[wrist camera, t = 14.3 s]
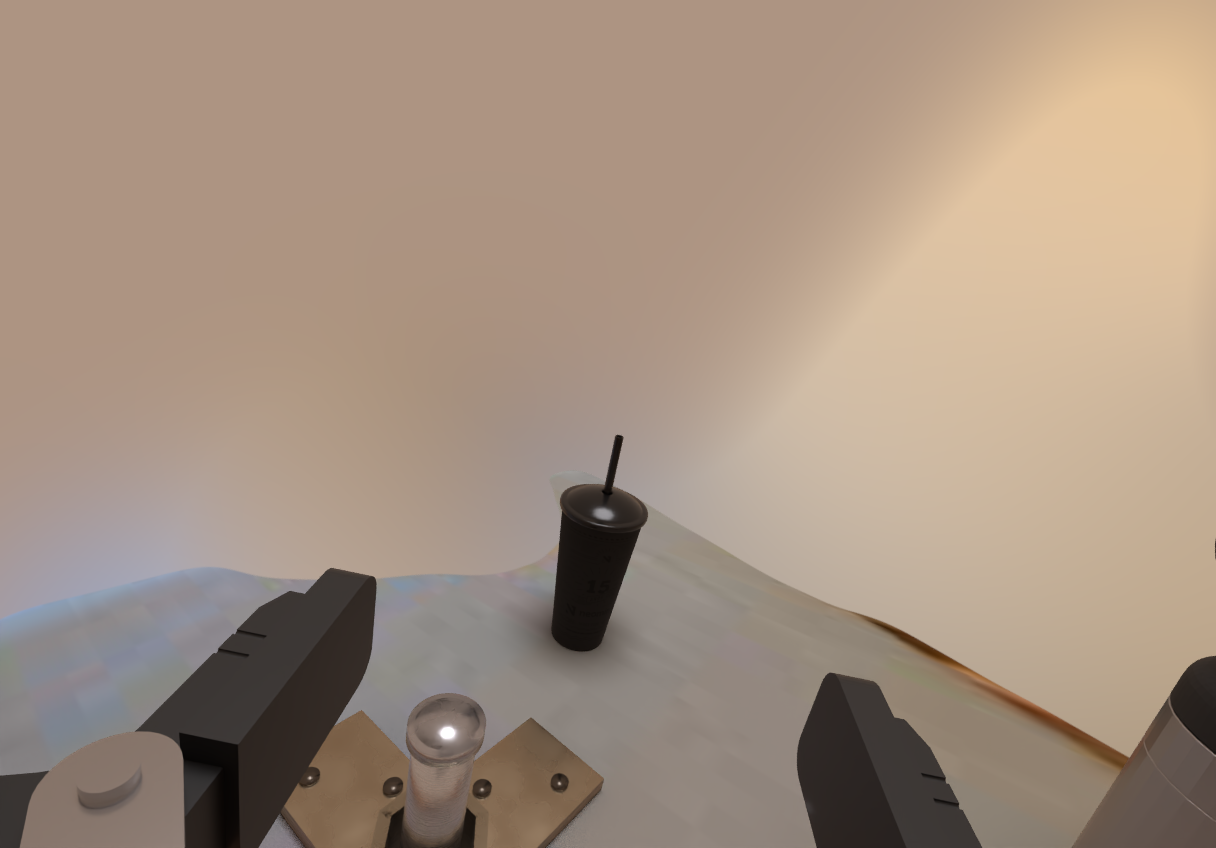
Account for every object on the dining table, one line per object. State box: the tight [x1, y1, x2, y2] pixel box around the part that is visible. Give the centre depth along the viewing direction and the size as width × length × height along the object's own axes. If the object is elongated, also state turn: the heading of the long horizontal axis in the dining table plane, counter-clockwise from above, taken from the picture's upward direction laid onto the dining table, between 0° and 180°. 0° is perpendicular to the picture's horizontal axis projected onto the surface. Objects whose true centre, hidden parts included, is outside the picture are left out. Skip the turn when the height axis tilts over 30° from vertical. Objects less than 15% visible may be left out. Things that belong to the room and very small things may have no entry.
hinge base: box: [280, 710, 604, 848], centre depth 39 cm, size 16×16×4 cm
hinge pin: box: [400, 693, 486, 848], centre depth 32 cm, size 4×4×12 cm
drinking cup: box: [552, 435, 648, 651], centre depth 53 cm, size 8×8×20 cm
